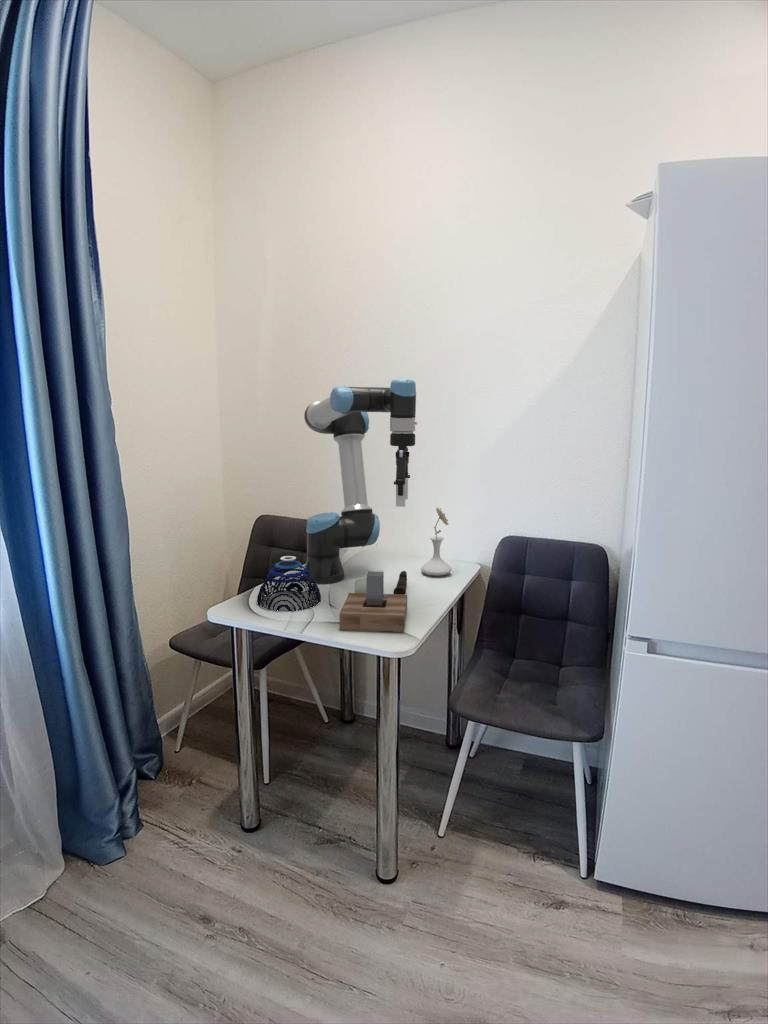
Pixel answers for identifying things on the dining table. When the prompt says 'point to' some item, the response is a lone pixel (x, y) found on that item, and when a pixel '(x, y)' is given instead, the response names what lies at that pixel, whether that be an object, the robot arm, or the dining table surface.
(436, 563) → the flower in vase
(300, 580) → the decorative bowl
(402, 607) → the socket block
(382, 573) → the square bar
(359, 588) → the round stub
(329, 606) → the dining table surface
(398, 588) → the hand tool
